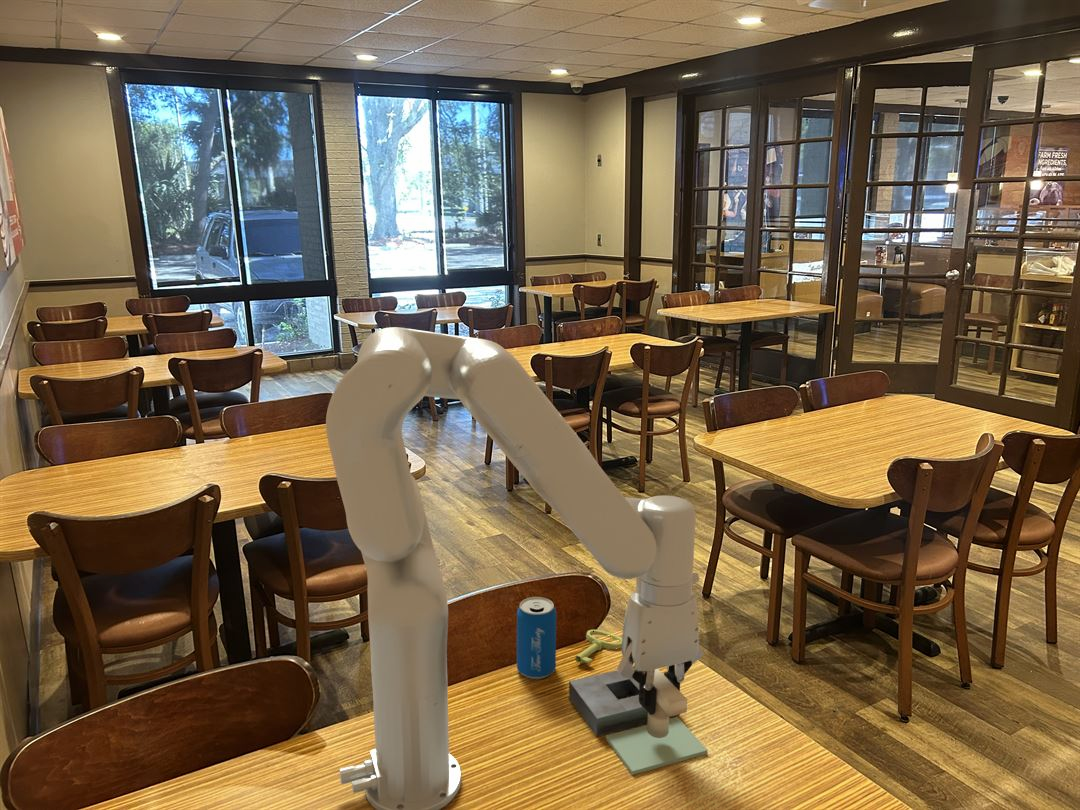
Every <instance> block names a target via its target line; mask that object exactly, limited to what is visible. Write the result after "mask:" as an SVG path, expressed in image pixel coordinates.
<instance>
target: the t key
mask: <svg viewBox="0 0 1080 810" xmlns="http://www.w3.org/2000/svg"><path fill="white" fill-rule="evenodd" d="M653 687H654V688H655V689H656V711H655V714H653V715H650V714H649V713H648V723H647V724H646V725H647V732H648V733H649V735H651V736H653V737H656V738H663V737H666V736H667V735H668V731H669V719H670V718H672V717H671V716H674V717H676V716H675V715H678V714H679V715H681V714H686V713H687V709H688V698H687V697H686V696H685V695H684V694H683V693H682V692H681V690H680V691H679V690H678V689H677V688H676V687H675V686H674V685H673V684H672V683H671V682H670V681H669V680H668V679H667V678H666V677H665V676H664V673H663V672H662V671H660V668H659V669H655V674H654V681H653ZM679 715H678V716H679ZM669 716H670V718H669Z"/></svg>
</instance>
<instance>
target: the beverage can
mask: <svg viewBox="0 0 1080 810" xmlns="http://www.w3.org/2000/svg"><path fill="white" fill-rule="evenodd" d="M556 653H557V610H556V608H555V606H554V602H553V601H552V600H551V599H549V598H546V597H541V596H531V597H527V598H525V599H523V600H522V601H520V603H519V607H518V608H517V611H516V669H517V670H518V672H519V674H521V675H523V676H524V677H526V678H529V679H532V680H542V679H545V678H546V677H549V676H550V675H551V674H552V673H554V672H555V670H556V666H557V665H556V663H557V662H556V661H557V659H556V658H557V655H556Z"/></svg>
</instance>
